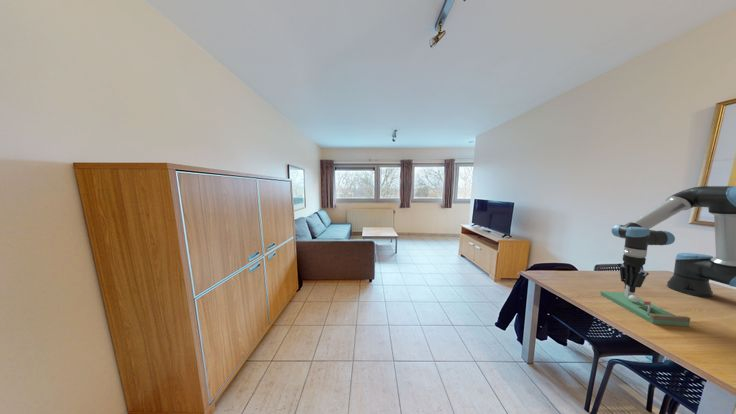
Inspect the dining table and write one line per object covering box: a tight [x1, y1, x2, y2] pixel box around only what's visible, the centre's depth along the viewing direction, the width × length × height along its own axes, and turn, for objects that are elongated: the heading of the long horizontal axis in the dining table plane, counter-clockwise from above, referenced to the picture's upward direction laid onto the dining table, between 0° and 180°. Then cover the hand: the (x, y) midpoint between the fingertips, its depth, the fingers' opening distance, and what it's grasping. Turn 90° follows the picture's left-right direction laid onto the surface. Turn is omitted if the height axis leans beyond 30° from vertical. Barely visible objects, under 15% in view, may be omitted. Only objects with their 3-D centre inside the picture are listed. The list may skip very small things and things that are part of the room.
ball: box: [629, 294, 642, 303], centre depth 111 cm, size 4×4×4 cm
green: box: [599, 290, 691, 327], centre depth 109 cm, size 15×26×9 cm, turn 171°
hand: (628, 296), depth 114 cm, fingers closed
